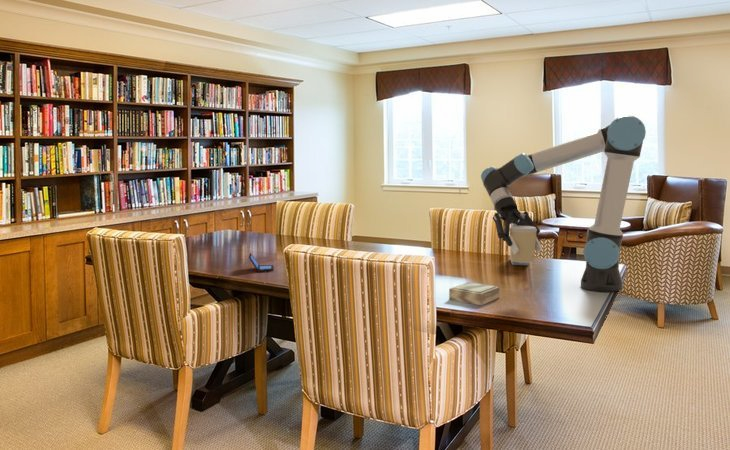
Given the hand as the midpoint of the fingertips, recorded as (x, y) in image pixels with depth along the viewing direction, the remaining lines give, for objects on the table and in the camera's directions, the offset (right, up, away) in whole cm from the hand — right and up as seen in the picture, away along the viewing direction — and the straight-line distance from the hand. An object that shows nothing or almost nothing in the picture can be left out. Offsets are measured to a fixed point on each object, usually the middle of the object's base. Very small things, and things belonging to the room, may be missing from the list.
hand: (528, 251), depth 208 cm
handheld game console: (-105, -12, +66) cm, 125 cm away
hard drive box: (+16, -9, +73) cm, 75 cm away
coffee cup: (-1, -4, +4) cm, 5 cm away
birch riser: (-18, -17, +7) cm, 26 cm away
